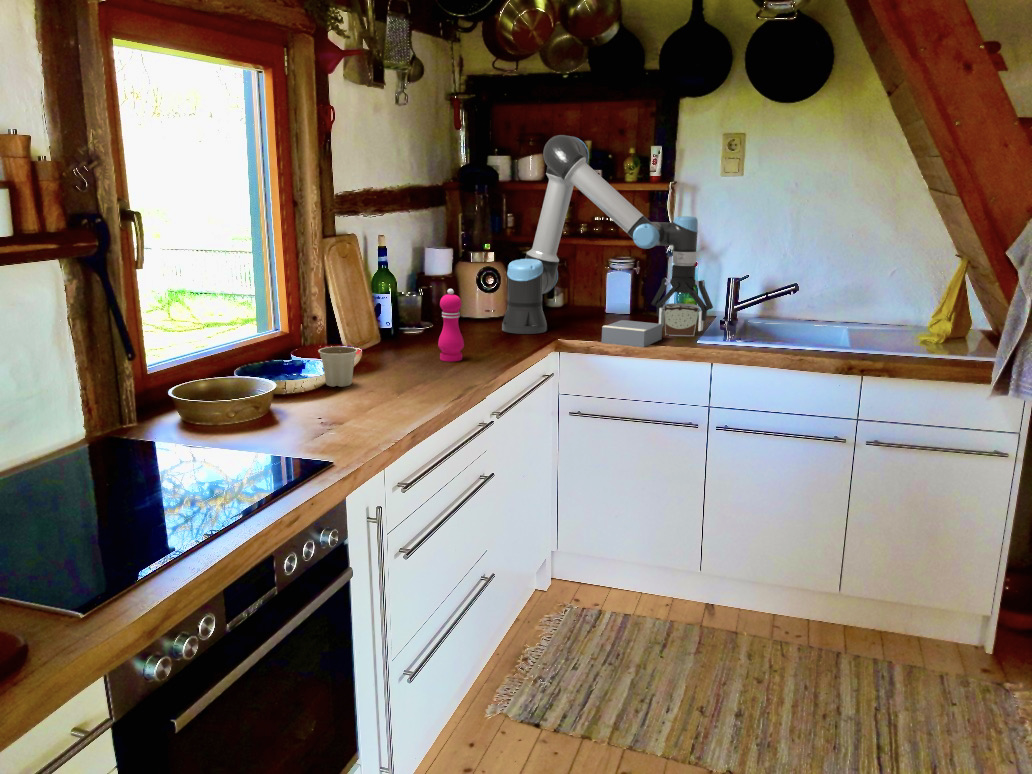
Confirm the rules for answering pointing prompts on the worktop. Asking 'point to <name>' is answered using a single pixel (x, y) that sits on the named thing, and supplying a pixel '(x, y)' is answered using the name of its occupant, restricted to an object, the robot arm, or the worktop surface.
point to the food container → (680, 319)
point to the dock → (632, 333)
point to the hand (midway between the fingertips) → (680, 328)
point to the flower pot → (338, 365)
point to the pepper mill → (450, 328)
